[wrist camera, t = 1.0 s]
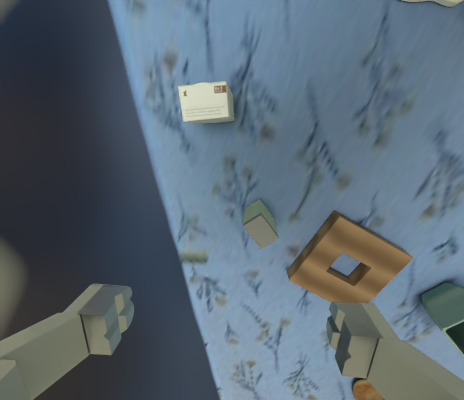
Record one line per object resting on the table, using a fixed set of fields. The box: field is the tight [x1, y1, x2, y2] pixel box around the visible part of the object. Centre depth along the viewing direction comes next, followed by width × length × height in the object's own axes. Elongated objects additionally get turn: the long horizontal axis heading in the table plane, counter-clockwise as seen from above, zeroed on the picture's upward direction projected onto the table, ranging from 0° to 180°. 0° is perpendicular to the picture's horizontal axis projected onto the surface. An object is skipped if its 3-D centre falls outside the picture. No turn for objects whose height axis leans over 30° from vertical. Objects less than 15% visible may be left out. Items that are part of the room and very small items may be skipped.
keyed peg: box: [243, 199, 278, 249], centre depth 40 cm, size 4×5×8 cm
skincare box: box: [178, 81, 235, 123], centre depth 33 cm, size 6×4×12 cm
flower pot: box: [422, 283, 464, 357], centre depth 42 cm, size 9×9×9 cm
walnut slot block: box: [287, 211, 413, 303], centre depth 44 cm, size 16×16×3 cm
